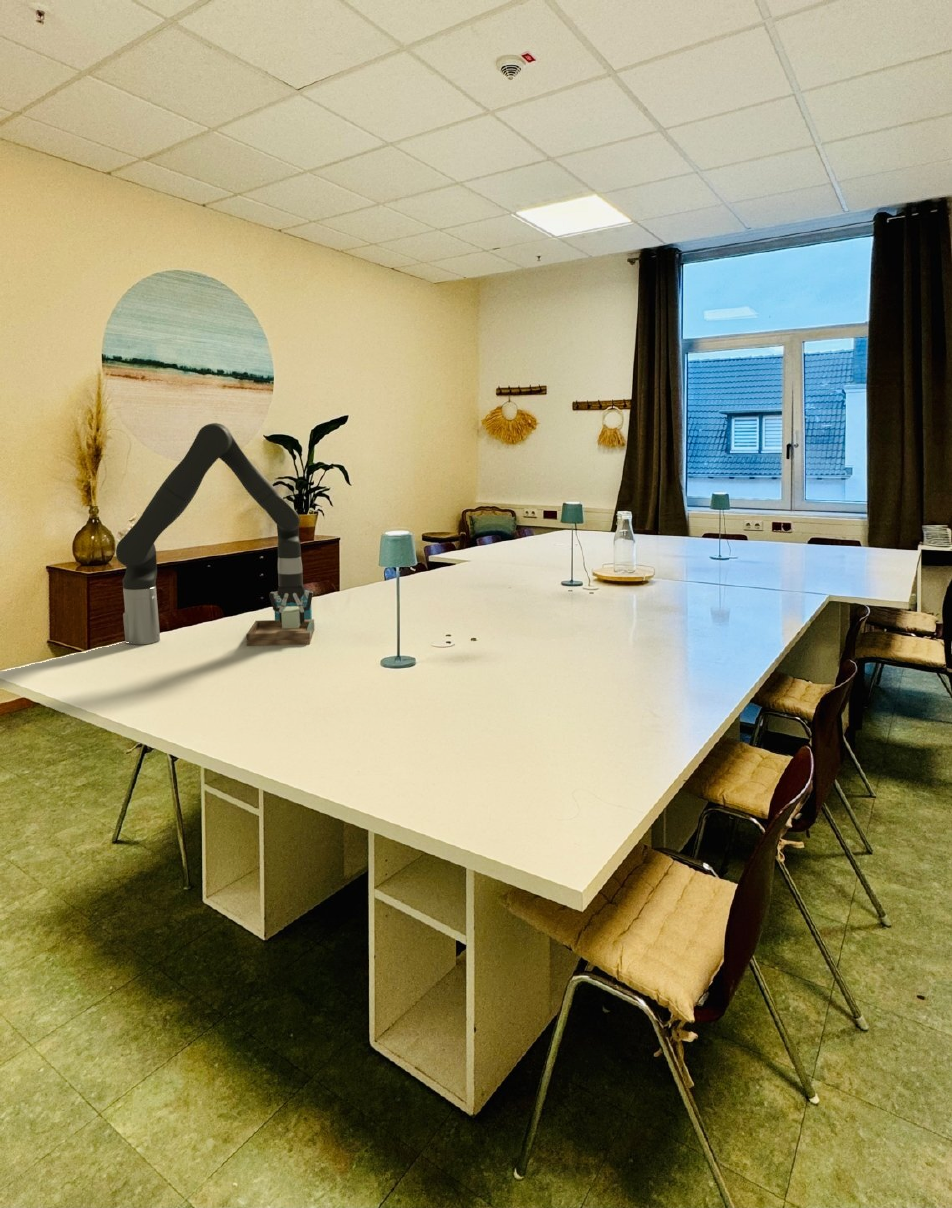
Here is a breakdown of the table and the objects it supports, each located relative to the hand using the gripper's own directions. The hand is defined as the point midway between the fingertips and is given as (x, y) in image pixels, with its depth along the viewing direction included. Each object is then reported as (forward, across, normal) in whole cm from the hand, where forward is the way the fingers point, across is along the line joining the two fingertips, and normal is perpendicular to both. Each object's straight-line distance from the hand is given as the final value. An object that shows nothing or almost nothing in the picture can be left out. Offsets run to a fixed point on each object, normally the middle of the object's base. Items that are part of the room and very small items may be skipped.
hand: (292, 623), depth 234 cm
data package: (+5, -2, +17) cm, 18 cm away
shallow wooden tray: (+5, -4, 0) cm, 6 cm away
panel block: (+1, 0, 0) cm, 1 cm away
